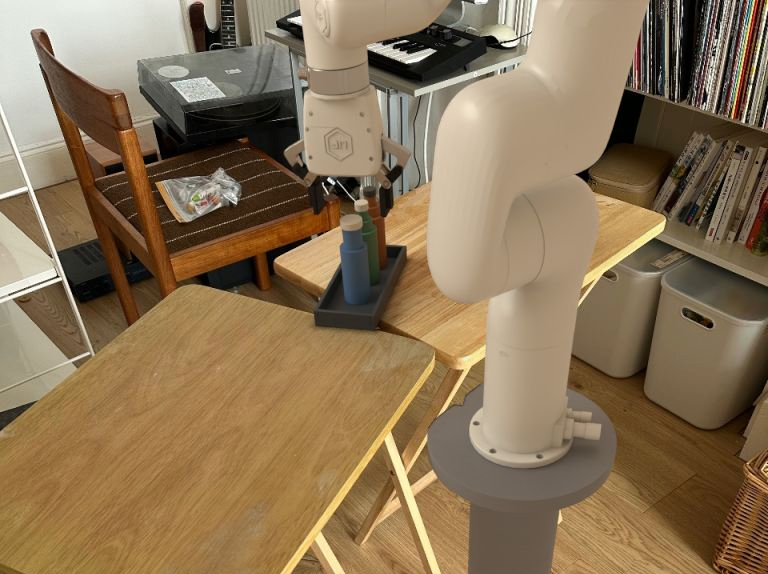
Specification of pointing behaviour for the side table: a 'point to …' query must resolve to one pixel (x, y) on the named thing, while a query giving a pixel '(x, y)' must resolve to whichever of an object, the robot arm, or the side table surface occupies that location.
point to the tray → (366, 315)
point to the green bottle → (369, 240)
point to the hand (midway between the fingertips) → (352, 212)
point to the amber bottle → (377, 223)
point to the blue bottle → (354, 261)
